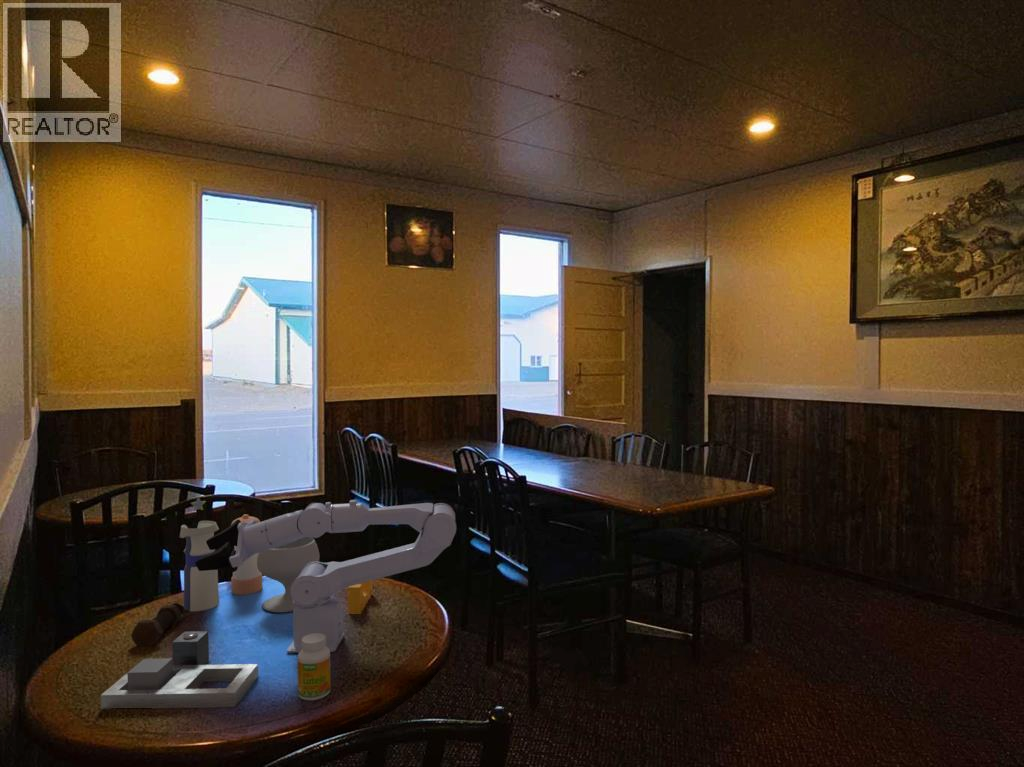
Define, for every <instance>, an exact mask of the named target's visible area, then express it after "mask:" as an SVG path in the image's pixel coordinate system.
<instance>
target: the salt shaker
mask: <svg viewBox="0 0 1024 767" xmlns="http://www.w3.org/2000/svg"><path fill="white" fill-rule="evenodd" d="M238 519H239V520H240V521H241V522H243V524H244V525H245V522H247V521H250V520H253V519H255V521H256V523H259V522H261V521H260V519H259V518H258V517H255V516H250V515H249V514H243V515H242V516H241V517H238V518H236V519H234V520H233V521H232V522H231V524H230V526H231V525H232V524H233V523H234V522H235V521H236V520H238ZM233 547H234V549H233V550H236V548H237V546H233ZM257 557H258V553H256V554H254V555H253V556H252V557H250V558H249V559H247V560H246V561H245V562H244V563H243V565H240V566H238V568H237V571H235V572H232V576H231V577H230V578H231V579H230V582H231V583H230V585H231V588H230V589H231V594H233V595H236V596H237V595H239V596H240V595H241V596H242V595H251V594H255V593H257V592H260V591H261V590H262V589H263V575H262V574H261V572H260V571H259V570H258V568H257Z"/></svg>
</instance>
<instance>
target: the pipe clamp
mask: <svg viewBox="0 0 1024 767" xmlns="http://www.w3.org/2000/svg"><path fill="white" fill-rule="evenodd" d="M347 588H348V594H347V605H348V604H349V605H348V614H349V613H351V614H352V613H353V614H354V613H355V614H356V613H357V614H358V613H359V614H360V613H361V611H362V610H363V608H364V606H365V604H366V603H367V601H368V599H369V597H370V596H371V595H370V594H372V595H373V580H372V581H368V582H364V583H360V584H357V585H353V586H349V587H347ZM367 604H368V603H367ZM365 607H366V606H365ZM364 609H365V608H364ZM363 611H364V610H363ZM363 611H362V612H363ZM361 614H362V613H361ZM361 614H360V615H361Z"/></svg>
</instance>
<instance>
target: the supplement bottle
mask: <svg viewBox="0 0 1024 767" xmlns="http://www.w3.org/2000/svg"><path fill="white" fill-rule="evenodd" d="M325 645H326V636H325V635H324V634H321V633H313V634H308V635H306V636H304V637H303V638H302V644H301V646H302V650H301V651H300V652H299V653H298V654H297V695H298V697H299V699H302V700H303V701H316V700H317V701H319V700H320V699H323V698H325V697H327V696H328V695H329V694H330V692H331V690H332V688H331V686H332V685H331V684H332V683H331V652H330V650H329V648H328V647H326V646H325Z"/></svg>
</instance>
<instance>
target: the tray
mask: <svg viewBox="0 0 1024 767" xmlns="http://www.w3.org/2000/svg"><path fill="white" fill-rule="evenodd" d="M258 677H259V665H258V663H240V664H239V663H236V664H235V663H234V664H233V663H231V664H230V663H229V664H225V663H224V664H207V665H173V678H172V679H171V680H170V681H169V682H168V683H167V684H166V685H165V686H164V687H162V688H161V689H159V690H128V676H127V673H125V674H124V675H123V676H122V677H120V679H119V678H118V680H117V681H115V683H113V684H112V685H111V686H109V688H107V689H106V690H105V691H104V692H103V693H101V694H100V710H103V709H102V708H105V709H104V710H108V709H107V708H152V709H188V708H189V709H197V708H198V709H199V708H200V709H201V708H202V709H203V708H236V707H237V705H238V704H239V702H240V701H241V700H242V699H243V698H244V696H245V694H246V693H247V692H248V691H249V689H250V688H251V687H252V685H254V683H255V682H256V681H257V679H258ZM219 682H220V683H222V682H225V683H226V682H228V683H229V682H230V683H229V685H228V686H227V687H225V688H222V687H221V688H201V687H202V686H203V684H205V683H219Z"/></svg>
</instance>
